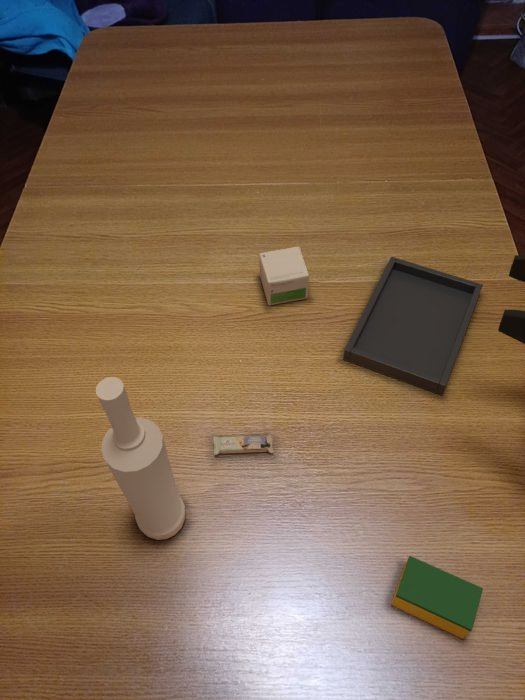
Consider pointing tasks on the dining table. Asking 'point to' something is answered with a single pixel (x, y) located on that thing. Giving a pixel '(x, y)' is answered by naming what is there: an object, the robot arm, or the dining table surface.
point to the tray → (414, 325)
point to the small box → (284, 275)
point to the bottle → (140, 464)
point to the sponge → (437, 597)
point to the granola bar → (243, 444)
